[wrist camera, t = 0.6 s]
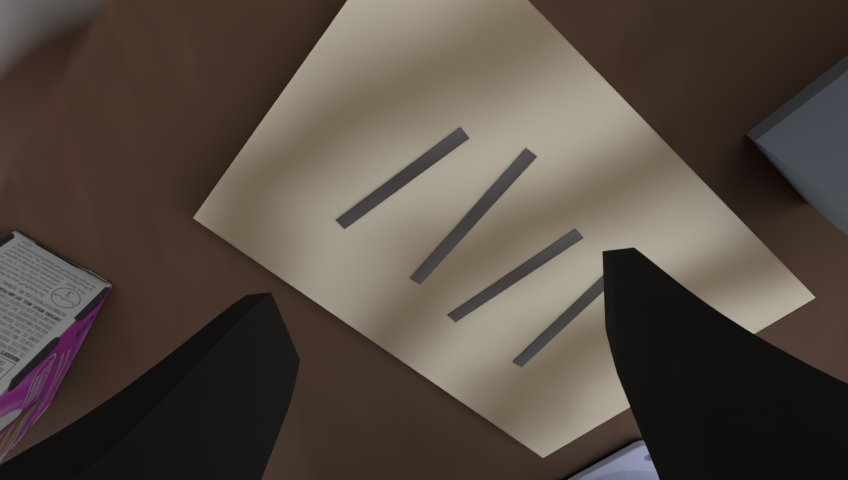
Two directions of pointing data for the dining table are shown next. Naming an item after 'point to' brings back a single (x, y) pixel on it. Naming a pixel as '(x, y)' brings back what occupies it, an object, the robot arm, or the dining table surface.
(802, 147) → the block
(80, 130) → the dining table surface
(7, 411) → the candy bar box
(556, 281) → the marked board
